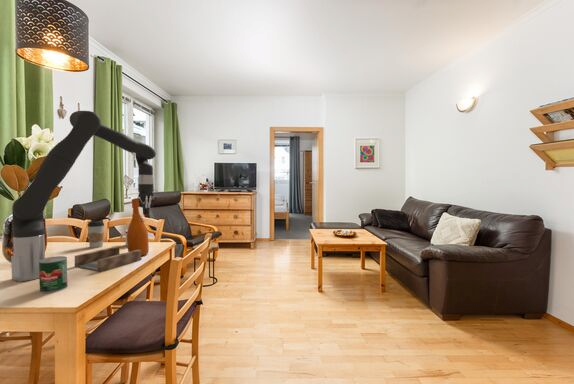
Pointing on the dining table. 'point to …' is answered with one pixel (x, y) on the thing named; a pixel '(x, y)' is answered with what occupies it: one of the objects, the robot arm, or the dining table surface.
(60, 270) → the canned tomato
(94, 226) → the coffee cup
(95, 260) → the u rest
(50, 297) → the dining table surface
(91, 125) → the robot arm
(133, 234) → the wine bottle
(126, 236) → the teacup with lid
